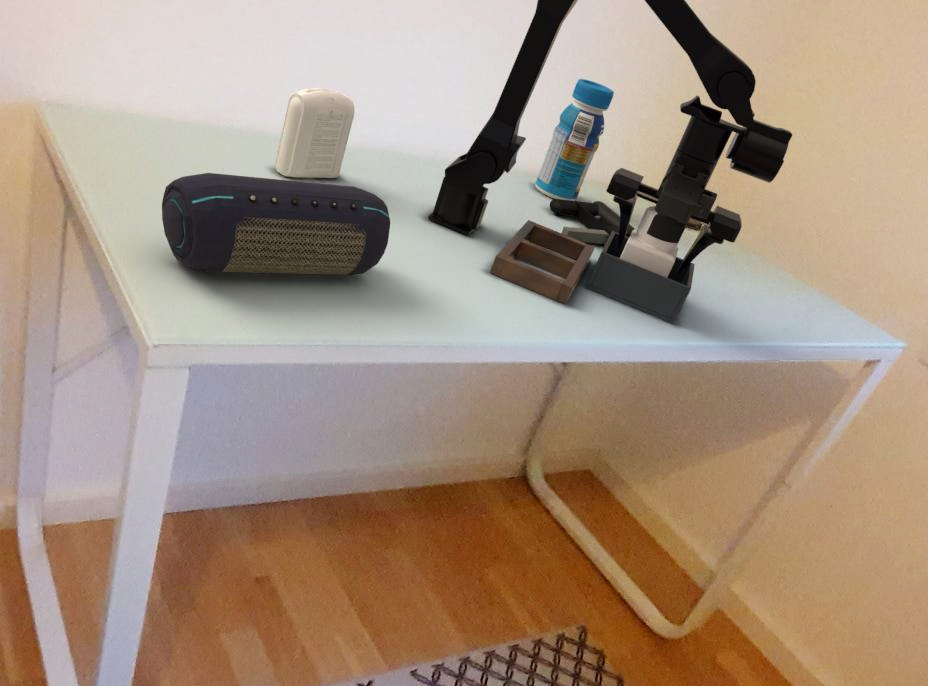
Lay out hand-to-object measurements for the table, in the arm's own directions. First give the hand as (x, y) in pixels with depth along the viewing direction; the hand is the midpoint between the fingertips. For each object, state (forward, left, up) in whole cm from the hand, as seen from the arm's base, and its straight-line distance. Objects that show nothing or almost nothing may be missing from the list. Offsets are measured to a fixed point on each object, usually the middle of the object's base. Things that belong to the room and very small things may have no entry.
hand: (648, 259), depth 122 cm
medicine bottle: (0, 0, -5) cm, 5 cm away
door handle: (-9, +19, -6) cm, 22 cm away
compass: (+6, +53, -6) cm, 54 cm away
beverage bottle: (-19, +35, -6) cm, 40 cm away
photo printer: (-50, -7, -6) cm, 51 cm away
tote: (0, 0, -5) cm, 5 cm away
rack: (-13, -5, -5) cm, 15 cm away
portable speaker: (-39, -40, -6) cm, 56 cm away
